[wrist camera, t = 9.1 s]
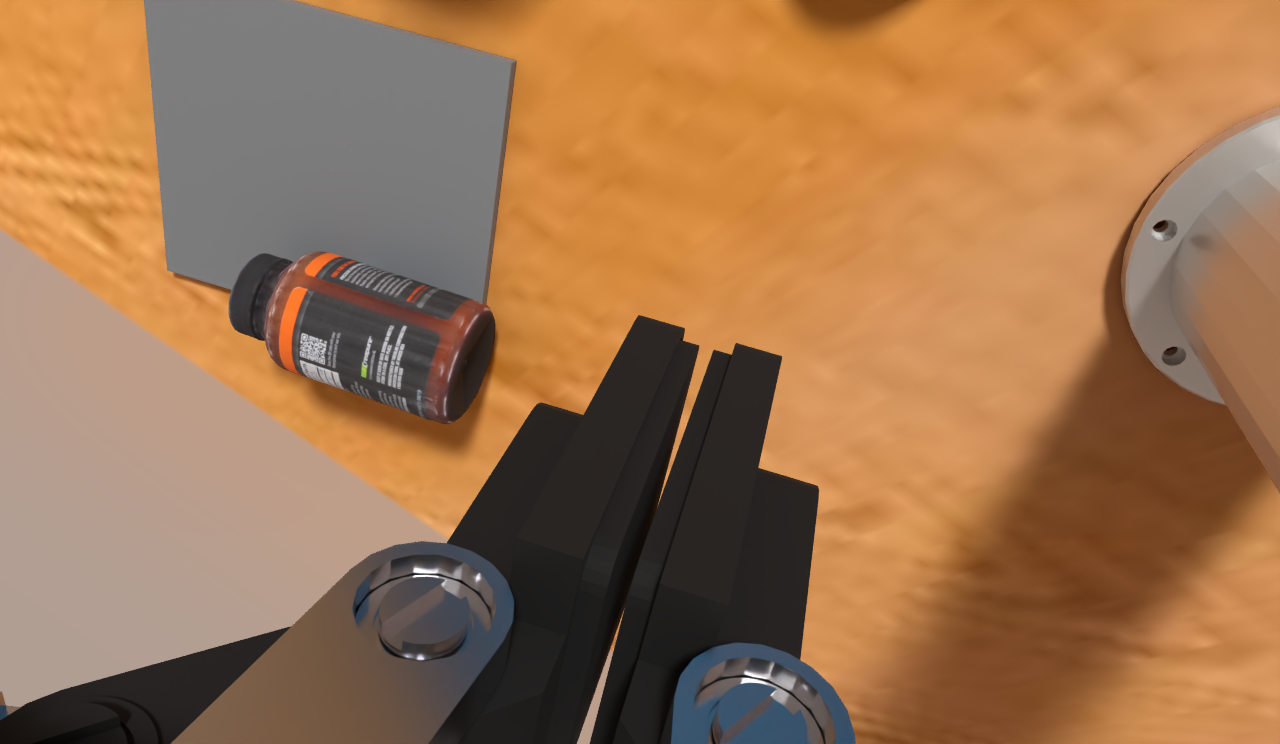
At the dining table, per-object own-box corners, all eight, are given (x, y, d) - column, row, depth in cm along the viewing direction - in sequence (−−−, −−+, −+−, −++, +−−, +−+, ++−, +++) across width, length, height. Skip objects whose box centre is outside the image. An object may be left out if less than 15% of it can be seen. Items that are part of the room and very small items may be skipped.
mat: (516, 60, 38) (511, 63, 38) (479, 358, 46) (475, 363, 46) (150, -39, 40) (140, -37, 39) (174, 266, 48) (167, 270, 47)
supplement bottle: (509, 315, 45) (301, 243, 46) (481, 298, 39) (242, 216, 40) (469, 429, 45) (260, 354, 46) (434, 429, 39) (196, 344, 40)
